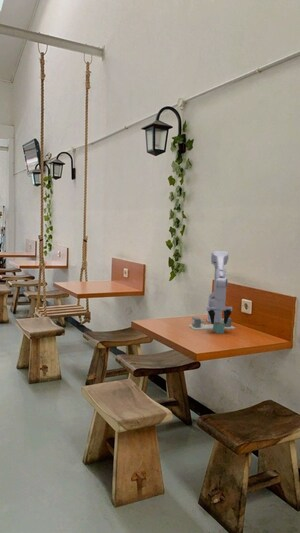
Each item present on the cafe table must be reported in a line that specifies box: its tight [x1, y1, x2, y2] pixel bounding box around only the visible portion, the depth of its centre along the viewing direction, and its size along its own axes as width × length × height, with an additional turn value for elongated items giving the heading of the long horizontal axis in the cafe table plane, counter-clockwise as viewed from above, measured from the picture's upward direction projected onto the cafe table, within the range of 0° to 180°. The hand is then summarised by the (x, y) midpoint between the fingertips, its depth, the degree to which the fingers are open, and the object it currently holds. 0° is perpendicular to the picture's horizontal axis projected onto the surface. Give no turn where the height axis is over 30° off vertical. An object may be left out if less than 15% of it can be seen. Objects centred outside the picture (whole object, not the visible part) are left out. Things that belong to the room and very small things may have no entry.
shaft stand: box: [188, 316, 236, 331], centre depth 240 cm, size 9×25×6 cm, turn 104°
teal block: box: [212, 321, 225, 334], centre depth 231 cm, size 6×4×5 cm, turn 14°
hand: (218, 323), depth 230 cm, fingers open, 7 cm apart
